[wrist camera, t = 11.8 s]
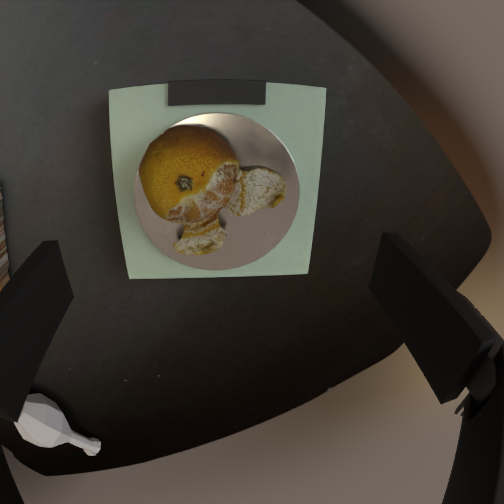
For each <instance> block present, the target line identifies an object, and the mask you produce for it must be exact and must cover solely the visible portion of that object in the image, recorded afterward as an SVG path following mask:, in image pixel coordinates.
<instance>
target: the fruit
mask: <svg viewBox="0 0 504 504" xmlns="http://www.w3.org/2000/svg"><path fill="white" fill-rule="evenodd" d="M239 165H240V164H239V161H238V159H237V158H236V154H235V153H234V152H233V150H232V149H231V148H230V146H229V145H228V142H227V141H226V140H224V139H223V138H222V137H221V136H219V135H217V133H216V132H215V131H212V130H208V129H206V128H201V127H199V126H192V127H190V126H185V125H183V126H174V127H170V128H168V129H167V130H166V131H165V132H164V133H163V134H161V135H160V136H159V137H158V138H157V139H155V140H153V141H152V142H151V143H150V144H149V146H148V148H147V150H146V153H145V155H144V156H143V159H142V161H141V163H140V166H139V176H140V180H141V183H142V186H143V190H144V193H145V195H146V198H147V200H148V202H149V205H150V206H151V208H152V210H153V211H154V212H155V213H156V214H157V215H158V216H159V217H161V218H162V219H164V220H167V221H168V222H172V223H182V225H183V227H184V232H183V236H182V238H181V239H180V240H179V241H178V242H175V243H173V247H174V249H175V250H176V251H177V252H178V253H181V254H184V255H203V254H209V253H211V252H214V251H215V250H217V249H220V248H221V247H222V245H223V242H224V240H225V239H226V238H227V237H226V236H225V233H228V232H227V231H225V230H224V229H222V228H221V227H220V225H219V218H218V214H219V210H220V209H222V208H226V209H228V210H229V212H230V213H231V214H230V216H231V215H233V216H244V215H250V214H252V213H253V212H254V211H256V210H258V209H261V208H267V207H269V208H275V207H276V206H277V205H278V203H279V202H280V201H282V200H283V199H284V198H285V192H286V183H285V180H284V179H283V178H282V177H281V176H280V175H279V174H278V173H276V172H273V171H271V170H269V169H265V168H258V169H252V170H251V171H243V170H240V169H239Z"/></svg>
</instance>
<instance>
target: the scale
mask: <svg viewBox="0 0 504 504" xmlns="http://www.w3.org/2000/svg"><path fill="white" fill-rule="evenodd" d="M325 100H326V88H323V87H314V86H305V85H295V84H283V83H267V82H266V81H263V80H186V81H170V82H168V83H167V84H155V85H145V86H136V87H128V88H120V89H113V90H109V122H110V140H111V155H112V166H113V177H114V186H115V195H116V203H117V210H118V218H119V224H120V231H121V237H122V243H123V249H124V255H125V260H126V265H127V271H128V276H129V279H158V278H204V277H237V276H266V275H290V274H308V268H309V261H310V254H311V246H312V239H313V231H314V222H315V214H316V205H317V196H318V186H319V176H320V166H321V155H322V143H323V130H324V116H325ZM209 112H227V113H233V114H238V115H242V116H245V117H247V118H250V119H252V120H254V121H256V122H258V123H260V124H262V125H263V126H265V127H266V128H268V129H269V130H271V131H272V132H273V133H274V134H275V135H276V136H277V137H278V138H279V139H280V140H281V141H282V142H283V144H284V145H285V146H286V148H287V149H288V151H289V153H290V154H291V156H292V158H293V160H294V163H295V165H296V168H297V172H298V176H299V184H300V198H299V204H298V209H297V212H296V216H295V218H294V220H293V223H292V225H291V227H290V229H289V230H288V232H287V233H286V235H285V236H284V237H283V239H282V240H281V241H280V243H278V244H277V245H276V246H275V247H274V248H273V249H272V250H271V251H270V252H268V253H267V254H266V255H265V256H263V257H261V258H260V259H258V260H256V261H254V262H252V263H250V264H247V265H245V266H241V267H238V268H234V269H229V270H218V271H217V270H203V269H197V268H193V267H189V266H186V265H184V264H181V263H179V262H177V261H175V260H173V259H172V258H170V257H168V256H167V255H166V254H164V253H163V252H162V251H161V250H159V249H158V248H157V247H156V246H155V245H154V244H153V243H152V241H151V240H150V239H149V238H148V236H147V235H146V233H145V232H144V230H143V228H142V226H141V224H140V222H139V220H138V217H137V213H136V210H135V205H134V193H133V189H134V179H135V175H136V171H137V168H138V165H139V163H140V161H141V158H142V157H143V155H144V153H145V151H146V150H147V148H148V146H149V144H150V143H151V142H152V141H153V140H155V139H156V138H157V137H158V136H159V135H160V134H161V133H162V132H163V131H164V130H166V129H167V128H169V127H170V126H171V125H173V124H175V123H177V122H179V121H181V120H182V119H185V118H188V117H190V116H193V115H197V114H202V113H209Z"/></svg>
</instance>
